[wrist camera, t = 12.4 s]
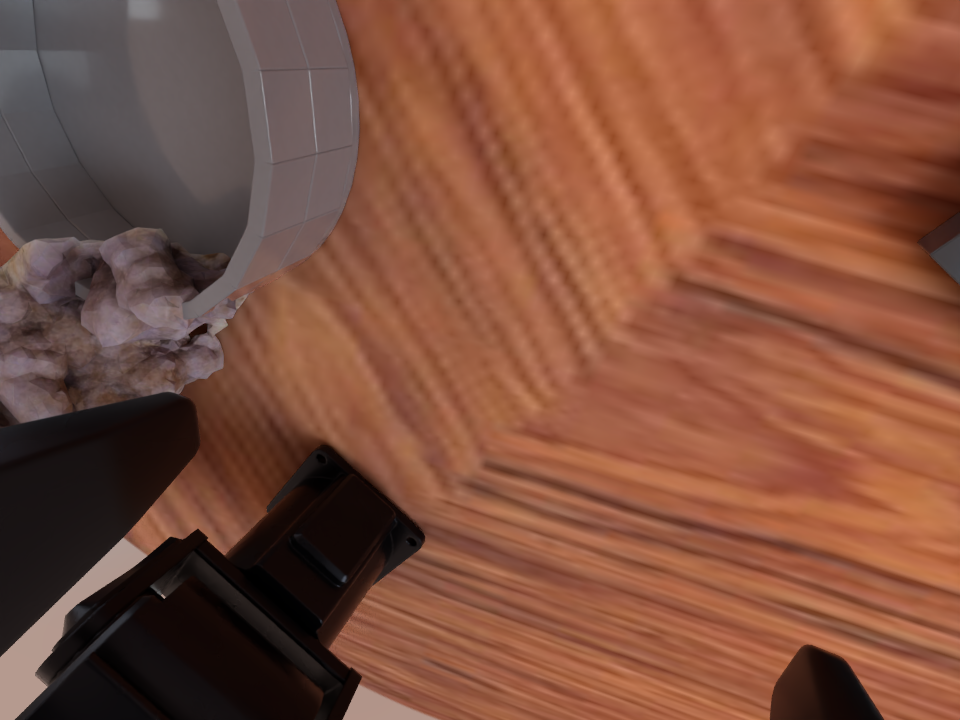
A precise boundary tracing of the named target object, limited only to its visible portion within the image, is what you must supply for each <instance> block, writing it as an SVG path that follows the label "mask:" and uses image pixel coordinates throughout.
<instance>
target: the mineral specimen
mask: <svg viewBox="0 0 960 720" xmlns="http://www.w3.org/2000/svg"><path fill="white" fill-rule="evenodd" d="M230 260H231V259H230V257H229V256H227V255H226V254H224V253H214V254H206V255H201V254H190V253H189V252H188V251H187V250H186V249H185V248H184V247H183V246H181V245H180V244H179V243H178V242H177V243H171V241H170V240H169V238H168V237H167V235H166V234H165V233H164V231H163V230H162V229H152V228H140V227H137V228H134V229H132V230H129V231H126V232H124V233H121V234H119V235H117V236H114V237H112V238H110V239H108V240H106V241H100V240H85V241H79V240H77V239H76V238H75V237H67V238H57V239H48V238H45V239H35V240H33V241H31V242H29V243H27V244H25V245H23V246H22V247H21V249H20V250H19V251H18V252H17V253H16V254H15V255H14V256H13V257H12V258H11V259H10V260H9V261H8V262H7V263H5V264H4V265H3V266H2V267H0V428H2V427H6V426H11V425H16V424H20V423H25V422H29V421H34V420H39V419H43V418H48V417H52V416H57V415H61V414H66V413H71V412H75V411H80V410H84V409H89V408H93V407H98V406H103V405H107V404H112V403H116V402H121V401H126V400H130V399H135V398H139V397H144V396H148V395H153V394H158V393H162V392H174V393H176V394H180V393H181V392H182V390H183V388H184V386H185V385H186V384H189V383H191V382H194V381H196V380H197V379H207V378H208V377H209V376H210V375H211V374H212V373H213V372H215V371H218V370H220V369H222V368H223V362H224V354H223V350H222V347H221V344H220V341H219V340H218V338H217V337H216V336H215V334H216V333H218V332H219V331H221V330H222V329H224V328H225V327H226V326H228V324H227V322H226V320H225V319H232V318H233V316H234V314H235V313H236V311H237V309H238V308H239V307H240V306H241V305H242V303H243V302H244V300H245V299H246V298H247V296H248V294H250V293H252V292H254V291H252V292H250V293H248V294H246V295H244V296H242V297H240V298H238V299H236V300H234V301H232V302H230V303H228V304H226V305H223V306H221V307H219V308H217V309H215V310H213V311H211V312H209V313H207V314H205V315H203V316H201V317H199V318H194V319H187V320H184V319H183V307H182V303H183V302H185V301H187V300H190V299H192V298H194V297H195V296H197V295H198V294H199V293H198V291H197V290H199V289H202V288H205V287H208V286H210V285H211V284H212V283H213V282H215V281H216V280H217V279H218V278H220V277H221V276H222V275H223V274H224V272H225V270H226V268H227V266H228V264H229V262H230ZM87 278H92V281H91V285H90V291H89V293H88V296H87V298H86V300H84V299H82V298H80V297H78V296H77V295H76V294H75V282H76V281H79V280H83V279H87ZM204 323H207V333H205V334H200V335H195V336H194V337H193V338H192V339H191V338H190V336H189V335H188V334H189V333H190V332H192V331H193V330H194V329H196V328H197V327H199V326H201V325H202V324H204Z"/></svg>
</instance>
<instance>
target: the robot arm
mask: <svg viewBox="0 0 960 720" xmlns="http://www.w3.org/2000/svg"><path fill="white" fill-rule="evenodd" d="M199 446H200V433H199V425H198V418H197V411H196V406H195V404H194V402H193V401H192V400H191V399H189V398H186V397H184V396H181V395H179V394H176V393H174V392H162V393H158V394H153V395H148V396H144V397H139V398H135V399H130V400H126V401H121V402H116V403H112V404H107V405H103V406H98V407H93V408H89V409H84V410H80V411H75V412H71V413H66V414H61V415H57V416H52V417H48V418H43V419H39V420H34V421H29V422H25V423H20V424H16V425H11V426H6V427H2V428H0V657H1V656H2V655H3V654H4V653H5V652H6V651H7V650H8V649H9V648H10V647H11V646H12V645H13V644H14V643H15V642H16V641H17V640H18V639H19V638H20V637H21V636H22V635H23V634H24V633H25V632H26V631H27V630H28V629H29V628H30V627H32V625H34V624H35V622H37V621H38V620H39V619H40V618H41V617H42V616H43V615H44V614H45V613H46V612H47V611H48V610H49V609H50V608H51V607H52V606H53V605H54V604H55V603H56V602H57V601H58V600H59V599H60V598H61V597H62V596H63V595H64V594H65V593H66V592H68V590H70V589H71V588H72V586H74V585H75V584H76V583H77V582H78V581H79V580H80V579H81V578H82V577H83V576H84V575H85V574H86V573H87V572H88V571H89V570H90V569H91V568H92V567H93V566H94V565H95V564H96V563H97V562H98V561H99V560H101V558H102V557H103V556H105V555H106V554H107V553H108V552H109V551H110V550H111V549H112V548H113V547H114V546H115V545H116V544H117V543H118V542H119V541H120V540H121V539H122V538H123V537H124V536H125V535H126V534H127V533H128V532H129V531H130V530H131V529H132V527H133V526H134V525H135V524H136V523H137V522H138V521H139V520H140V519H141V517H142V516H143V515H144V514H145V513H146V512H147V510H148V509H149V508H150V507H151V506H152V505H153V503H154V502H155V501H156V500H157V499H158V498H159V496H160V495H161V494H162V493H163V492H164V491H165V490H166V488H167V487H168V486H169V485H170V484H171V483H172V481H173V480H174V479H175V478H176V477H177V476H178V474H179V473H180V472H181V471H182V470H183V469H184V467H185V466H186V465H187V464H188V463H189V462H190V460H191V459H192V458H193V457H194V456H195V454H196V453H197V451H198V449H199ZM267 512H268V513H267V514H266V515H265V516H264V517H263V518H262V519H261V520H260V521H259V522H258V523H257V524H256V525H255V526H254V527H253V528H252V529H251V530H250V531H249V532H248V533H247V534H246V535H245V536H244V537H243V538H242V539H241V540H240V541H239V542H238V543H237V544H236V545H235V546H234V547H233V548H232V549H231V550H230V551H228V552H227V553H226V554H225V555H223V554H222V553H221V552H220V551H218V550H217V549H216V548H215V547H214V546H213V545H212V544H211V543H210V542H208V541H207V539H208V537H207V536H206V535H205V534H203V533H202V532H201V531H200V530H199V529H197V530H195V531H194V532H193V533H192V534H190V535H189V536H188V537H187V538H185V539H183V540H182V539H178V538H174V537H169V538H168V539H167V540H166V541H165V542H164V543H162V544H161V545H160V546H159V547H158V548H156V549H155V550H154V551H153V552H152V553H151V554H149V555H148V556H147V557H146V558H145V559H143V560H142V561H141V562H140V563H138V564H137V565H136V566H135V567H133V568H132V569H130V570H129V571H127V572H126V573H124V574H123V575H122V576H120V577H118V578H117V579H115V580H114V581H112V582H111V583H109V584H107V585H106V586H105V587H103V588H101V589H100V590H98V591H97V592H95V593H94V594H92V595H91V596H89V597H88V598H86V599H85V600H83V601H81V602H80V603H79V604H77V605H76V606H75V607H74V608H73V609H72V610H71V611H70V612H69V613H68V614H67V615H66V616H65V620H64V628H63V635H62V638H61V639H60V640H59V641H58V642H57V644H56V645H55V646H54V647H53V649H52V651H53V653H52V654H51V655H50V656H49V657H48V658H47V659H46V660H45V661H44V662H43V664H42V665H41V666H40V667H39V669H38V670H37V672H36V673H35V676H36V677H38V678H39V679H40V680H41V681H42V682H43V683H44V684H46V685H47V686H48V688H47V689H46V690H44V691H43V692H42V694H40V696H38V697H37V698H36V699H35V700H34V701H33V702H32V703H31V704H30V705H29V706H28V707H27V708H26V709H25V710H24V711H23V712H22V713H21V714H20V715H19V716H18V717H17V718H16V719H15V720H342V719H343V717H344V715H345V712H346V711H347V709H348V706H349V704H350V702H351V700H352V698H353V696H354V693H355V691H356V689H357V687H358V685H359V683H360V680H361V678H362V676H361V675H360V674H359V673H358V672H357V671H356V670H354V669H353V668H352V667H351V668H348V667H347V666H346V665H345V664H344V663H343V662H342V661H341V660H339V659H338V658H337V657H336V656H335V655H334V654H333V653H332V652H331V651H329V650H328V649H329V647H330V646H331V644H332V643H333V641H334V640H335V638H336V637H337V636H338V634H339V633H340V631H341V630H342V628H343V627H344V625H345V624H346V622H347V621H348V620H349V618H350V617H351V615H352V614H353V612H354V611H355V609H356V608H357V606H358V605H359V604H360V602H361V601H362V599H363V598H364V596H365V595H366V593H367V592H368V590H369V589H370V588H371V586H373V585H374V584H375V583H377V582H378V581H379V580H380V579H382V578H383V577H384V576H386V575H387V574H388V573H389V572H391V571H392V570H393V569H395V568H396V567H397V566H398V565H400V564H401V563H402V562H404V561H405V560H406V559H408V558H409V557H410V556H411V555H413V554H414V553H415V552H417V551H418V550H419V549H420V548H421V546H422V545H423V543H424V542H425V536H424V534H423V532H422V531H421V530H420V529H419V528H417V527H416V526H415V525H414V524H413V523H412V522H411V521H410V520H409V519H408V518H407V517H405V516H404V515H403V514H402V513H401V512H400V511H399V510H398V509H397V508H396V507H395V506H393V505H392V504H391V503H390V502H389V501H388V500H387V499H386V498H385V497H384V496H383V495H381V494H380V493H379V492H378V491H377V490H376V489H375V488H374V487H373V486H372V485H371V484H369V483H368V482H367V481H366V480H365V479H364V478H363V477H362V476H361V475H360V474H359V473H357V472H356V471H355V470H354V469H353V468H352V467H351V466H350V465H349V464H348V463H347V462H345V461H344V460H343V459H342V458H341V457H340V456H339V455H338V454H337V453H336V452H335V451H333V450H332V449H331V448H330V447H328V446H326V445H320V446H319V447H318V448H316V449H315V450H314V451H313V452H312V454H311V455H310V456H309V457H308V458H307V460H306V461H305V462H304V463H303V464H302V466H301V467H300V468H299V469H298V470H297V472H296V473H295V474H294V475H293V476H292V478H291V479H290V480H289V481H288V482H287V483H286V485H285V486H284V487H283V488H282V489H281V491H280V492H279V493H278V494H277V495H276V497H275V498H274V499H273V500H272V501H271V503H270V504H269V505H268V506H267ZM162 594H163V595H164V596H165V597H166V598H165V599H164V598H163V597H162V596H161V595H162ZM770 720H884V719H883V717H882V715H881V714H880V712H879V711H878V709H877V708H876V706H875V704H874V703H873V701H872V700H871V698H870V697H869V695H868V694H867V692H866V690H865V689H864V687H863V686H862V684H861V683H860V681H859V679H858V678H857V676H856V675H855V673H854V672H853V670H852V668H851V667H850V666H849V664H848V663H847V662H846V661H845V660H844V659H843V658H842V657H840V656H838V655H836V654H833V653H831V652H828V651H826V650H823V649H821V648H818V647H816V646H813V645H804V646H803V647H801V648H800V649H799V651H798V652H797V653H796V655H795V656H794V658H793V659H792V661H791V662H790V663H789V665H788V666H787V668H786V669H785V671H784V672H783V673H782V675H781V676H780V678H779V679H778V681H777V682H776V685H775V687H774V691H773V695H772V700H771V712H770Z"/></svg>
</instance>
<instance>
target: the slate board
mask: <svg viewBox="0 0 960 720" xmlns="http://www.w3.org/2000/svg"><path fill="white" fill-rule="evenodd" d="M917 243H918V244H919V246H920V247H921V248H922V249H923V250H924V251H925V252H926V253H927V254H928V255H929V256H930V257H931V258H932V259H933V260H934V261H935V262H936V263H937V264H938V265H939V266H940V267H941V268H942V269H943V270H944V271H945V272H946V273H947V274H948V275H949V276H950V277H951V278H952V279H953V280H954V281H955V282H956V283H957V284H959V285H960V212H959V213H957V214H956V215H955V216H953V217H952V218H950V219H949V220H947V221H946V222H945V223H943V224H942V225H940V226H939V227H937V228H936V229H935V230H933V231H932V232H930V233H929V234H927V235H926V236H925V237H923V238H922V239H920V240H919V241H918V242H917Z"/></svg>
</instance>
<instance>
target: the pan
mask: <svg viewBox="0 0 960 720" xmlns="http://www.w3.org/2000/svg"><path fill="white" fill-rule="evenodd" d="M359 133H360V124H359V97H358V89H357V81H356V73H355V66H354V62H353V58H352V53H351V49H350V44H349V40H348V36H347V32H346V29H345V26H344V23H343V20H342V17H341V14H340V11H339V8H338V5H337V2H336V0H0V228H1V229H2V231H3V232H4V233H5V234H6V236H7V237H8V238H9V239H10V240H11V241H12V243H13V244H14V245H15V246H16V247H18V248H19V249H21V247H22V246H23V245H25V244H27V243H29V242H31V241H33V240H35V239H45V238H48V239H57V238H67V237H75V238H76V239H77V240H79V241H85V240H100V241H106V240H108V239H110V238H112V237H114V236H117V235H119V234H121V233H124V232H126V231H129V230H132V229H134V228H137V227H140V228H152V229H162V230H163V231H164V233H165V234H166V235H167V237H168V238H169V240H170V241H171V243H177V242H178V243H179V244H180V245H181V246H183V247H184V248H185V249H186V250H187V251H188V252H189V253H190V254H201V255H206V254H214V253H224V254H226V255H227V256H229V257H230V259H231V260H230V262H229V264H228V266H227V268H226V270H225V272H224V274H223V275H222V276H221V277H220V278H218V279H217V280H216V281H215V282H213V283H212V284H211V285H210V286H208V287H205V288H202V289H199V290H197V291H198V293H199V294H198V295H197V296H195V297H194V298H192V299H190V300H187V301H185V302H183V303H182V307H183V319H184V320H187V319H194V318H199V317H201V316H203V315H205V314H207V313H209V312H211V311H213V310H215V309H217V308H219V307H221V306H223V305H226V304H228V303H230V302H232V301H234V300H236V299H238V298H240V297H242V296H244V295H246V294H248V293H250V292H252V291H254V290H256V289H258V288H260V287H262V286H264V285H266V284H268V283H271V282H273V281H275V280H277V279H278V278H280V277H281V276H282V275H284V274H285V273H287V272H288V271H290V270H292V269H294V268H295V267H297V266H298V265H300V264H301V263H303V262H304V261H306V260H307V259H308V258H309V257H310V256H311V255H312V254H313V253H314V252H315V251H316V250H317V249H318V248H320V247H321V246H322V244H323V243H324V241H325V240H326V239H327V237H328V236H329V234H330V233H331V232H332V230H333V229H334V227H335V225H336V223H337V221H338V219H339V217H340V215H341V213H342V211H343V209H344V207H345V204H346V201H347V198H348V195H349V192H350V189H351V187H352V182H353V178H354V173H355V168H356V163H357V156H358V145H359ZM91 281H92V278H87V279H83V280H79V281H76V282H75V294H76V295H77V296H78V297H80V298H82V299H84V300H86V298H87V296H88V293H89V291H90V285H91Z"/></svg>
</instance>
